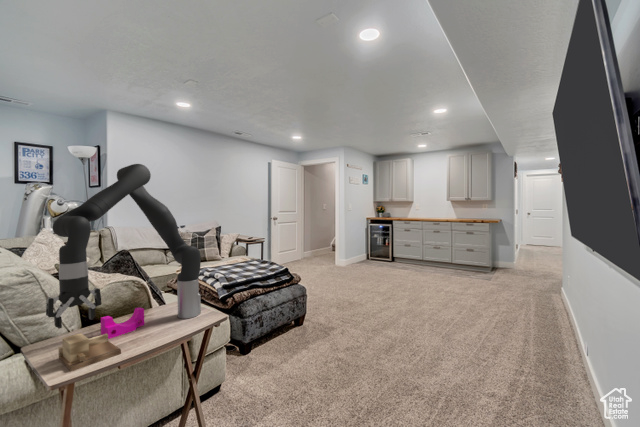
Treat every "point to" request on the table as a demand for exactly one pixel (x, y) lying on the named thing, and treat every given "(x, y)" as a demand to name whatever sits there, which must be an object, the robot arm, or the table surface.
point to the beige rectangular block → (75, 347)
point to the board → (92, 352)
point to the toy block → (122, 324)
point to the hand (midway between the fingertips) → (75, 323)
